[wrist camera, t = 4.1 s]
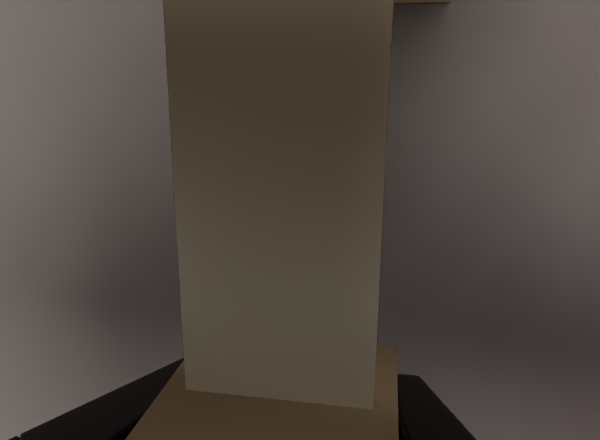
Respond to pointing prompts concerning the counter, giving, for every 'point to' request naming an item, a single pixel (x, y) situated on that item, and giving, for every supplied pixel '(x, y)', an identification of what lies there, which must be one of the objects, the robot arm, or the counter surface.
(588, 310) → the counter surface
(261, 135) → the beige long block
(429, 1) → the toolbox
